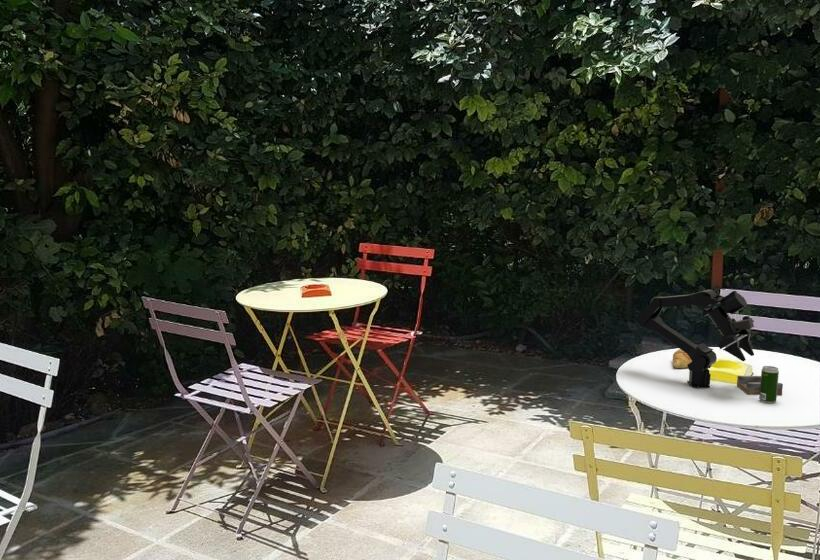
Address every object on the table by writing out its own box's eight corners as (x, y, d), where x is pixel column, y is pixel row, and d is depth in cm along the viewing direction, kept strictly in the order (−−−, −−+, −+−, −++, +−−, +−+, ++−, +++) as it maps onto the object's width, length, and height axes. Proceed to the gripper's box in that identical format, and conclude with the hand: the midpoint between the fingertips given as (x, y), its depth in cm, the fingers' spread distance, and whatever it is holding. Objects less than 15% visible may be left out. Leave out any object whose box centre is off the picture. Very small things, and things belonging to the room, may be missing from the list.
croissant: (681, 379, 290) (692, 364, 286) (660, 364, 295) (670, 348, 291) (700, 366, 305) (710, 352, 302) (680, 352, 310) (689, 337, 307)
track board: (747, 394, 260) (748, 383, 259) (736, 385, 270) (737, 375, 269) (781, 395, 259) (782, 384, 259) (769, 386, 269) (770, 376, 269)
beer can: (770, 404, 249) (773, 371, 247) (755, 400, 254) (758, 367, 252) (779, 401, 252) (782, 368, 250) (764, 397, 257) (767, 364, 255)
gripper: (732, 313, 250) (760, 352, 245) (749, 305, 264) (776, 342, 259) (705, 329, 257) (732, 367, 252) (724, 320, 270) (749, 356, 266)
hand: (748, 358), depth 257 cm, fingers open, 9 cm apart
